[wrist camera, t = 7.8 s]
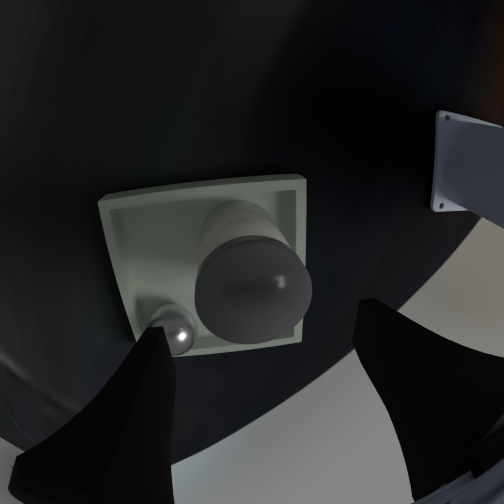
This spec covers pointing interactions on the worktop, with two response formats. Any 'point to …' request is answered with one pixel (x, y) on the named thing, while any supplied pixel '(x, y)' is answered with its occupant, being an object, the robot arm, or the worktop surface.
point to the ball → (175, 327)
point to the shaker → (248, 276)
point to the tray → (189, 243)
